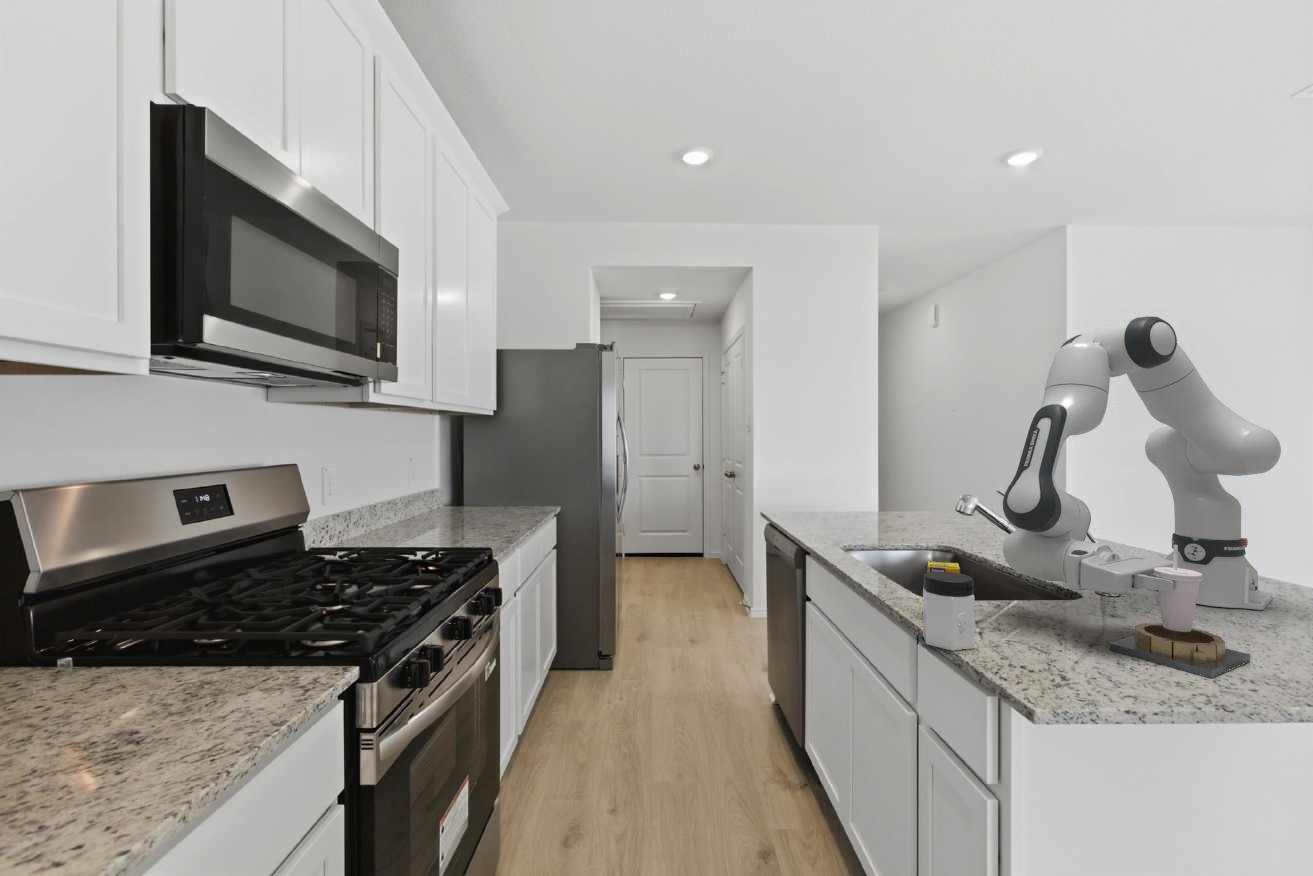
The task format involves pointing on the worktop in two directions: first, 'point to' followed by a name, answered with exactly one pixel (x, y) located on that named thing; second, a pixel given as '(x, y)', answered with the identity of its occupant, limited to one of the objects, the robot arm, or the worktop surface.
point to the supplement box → (942, 567)
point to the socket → (1180, 649)
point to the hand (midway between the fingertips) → (1184, 583)
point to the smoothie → (1178, 596)
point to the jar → (948, 610)
